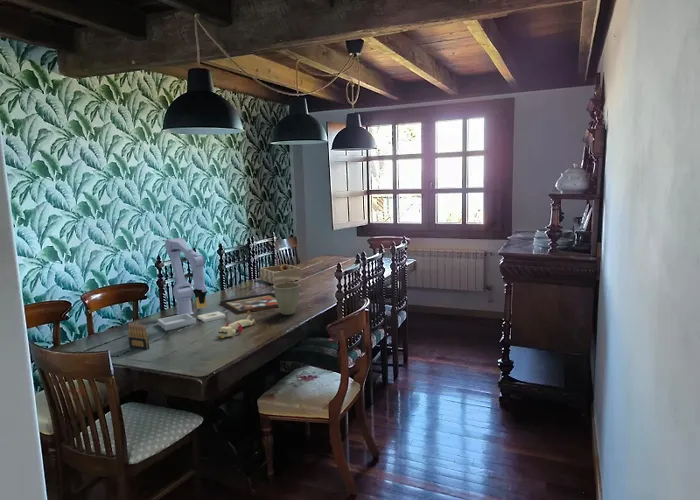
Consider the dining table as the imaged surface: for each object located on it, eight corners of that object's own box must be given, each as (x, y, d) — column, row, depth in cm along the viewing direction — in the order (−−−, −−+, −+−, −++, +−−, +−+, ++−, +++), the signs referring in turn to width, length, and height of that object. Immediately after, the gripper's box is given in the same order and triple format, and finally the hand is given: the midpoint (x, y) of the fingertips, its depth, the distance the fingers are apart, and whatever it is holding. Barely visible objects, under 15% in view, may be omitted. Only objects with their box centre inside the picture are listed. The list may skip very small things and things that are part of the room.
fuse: (196, 307, 262) (195, 297, 261) (204, 305, 264) (203, 295, 263) (198, 308, 259) (197, 298, 258) (206, 306, 262) (205, 296, 261)
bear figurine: (271, 279, 363) (270, 263, 361) (291, 278, 365) (290, 262, 363) (271, 283, 349) (270, 267, 347) (292, 282, 351) (291, 265, 349)
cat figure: (243, 325, 255) (212, 337, 232) (242, 309, 254) (212, 319, 231) (259, 327, 251) (229, 339, 228) (258, 311, 250) (229, 321, 227)
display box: (260, 279, 362) (259, 268, 361) (286, 275, 375) (285, 264, 374) (274, 284, 344) (274, 272, 343) (301, 279, 357) (300, 268, 355)
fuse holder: (197, 318, 265) (197, 315, 265) (218, 314, 273) (218, 311, 272) (204, 322, 258) (204, 319, 257) (225, 318, 265) (225, 314, 264)
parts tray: (158, 324, 258) (157, 319, 257) (187, 318, 267) (187, 313, 267) (165, 330, 247) (165, 325, 246) (196, 324, 256) (195, 318, 256)
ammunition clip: (129, 347, 224) (126, 322, 222) (132, 346, 225) (129, 321, 223) (146, 349, 219) (143, 324, 217) (149, 348, 221) (146, 323, 219)
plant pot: (276, 317, 262) (275, 289, 259) (273, 310, 276) (271, 283, 273) (303, 314, 266) (302, 286, 263) (298, 308, 280) (297, 281, 278)
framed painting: (240, 317, 267) (240, 312, 267) (214, 306, 294) (214, 301, 294) (298, 304, 291) (297, 299, 291) (268, 295, 318) (268, 291, 318)
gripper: (211, 279, 256) (213, 303, 258) (201, 275, 267) (203, 298, 269) (198, 281, 252) (200, 306, 254) (188, 277, 263) (190, 301, 265)
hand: (200, 302), depth 261 cm, fingers closed on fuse, 3 cm apart
